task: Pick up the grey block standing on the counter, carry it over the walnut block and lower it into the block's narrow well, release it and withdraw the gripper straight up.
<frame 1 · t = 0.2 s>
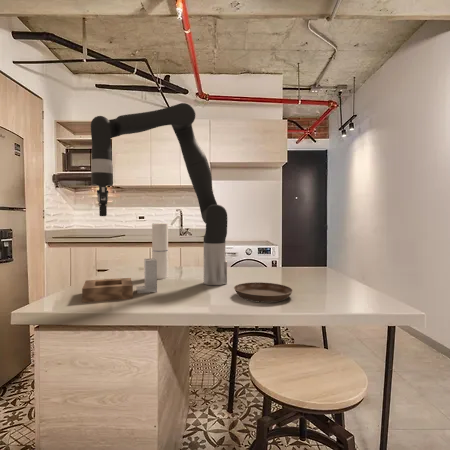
hand: (103, 216, 118), 28 cm above the countertop, tool pointing down, fingers open, 8 cm apart
cylindrical container: (160, 278, 146), on the countertop
grey block: (150, 290, 120), on the countertop
well block: (108, 295, 113), on the countertop
plant saucer: (263, 297, 113), on the countertop
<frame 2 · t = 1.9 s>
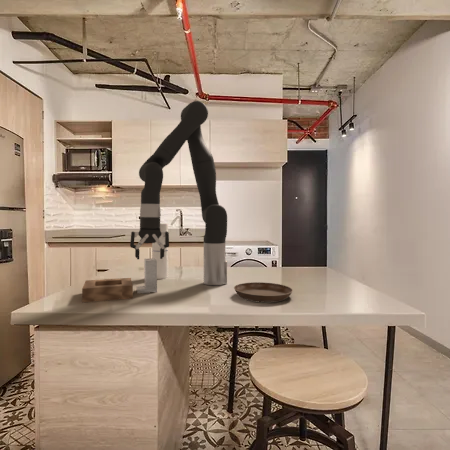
hand: (149, 258, 120), 12 cm above the countertop, tool pointing down, fingers open, 8 cm apart
nothing on the countertop moved.
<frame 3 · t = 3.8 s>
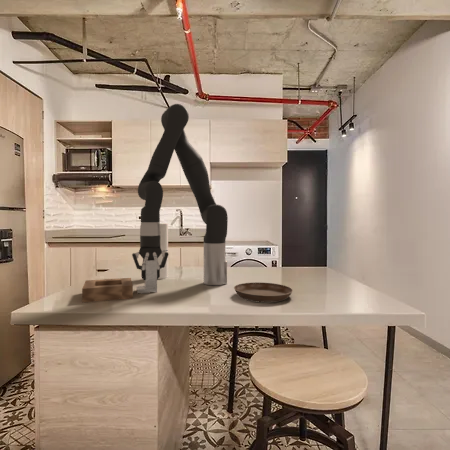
hand: (150, 279, 120), 4 cm above the countertop, tool pointing down, fingers closed on grey block, 4 cm apart
grey block: (150, 290, 120), on the countertop, touching gripper
everything else where it was.
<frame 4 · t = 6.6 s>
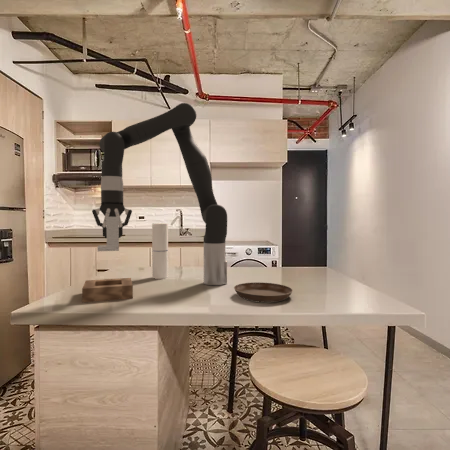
hand: (112, 237, 113), 21 cm above the countertop, tool pointing down, fingers closed on grey block, 4 cm apart
grey block: (112, 250, 113), point 16 cm above the countertop, touching gripper
everything else where it was.
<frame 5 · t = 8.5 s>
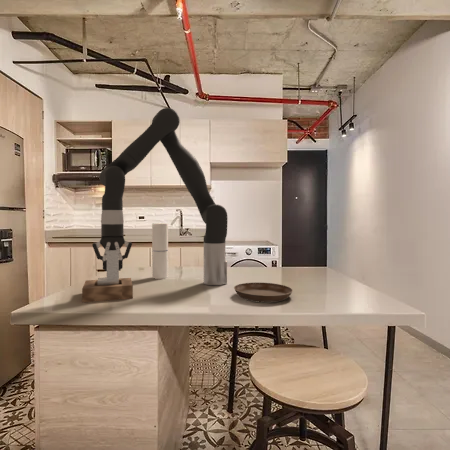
hand: (112, 270, 114), 9 cm above the countertop, tool pointing down, fingers closed on grey block, 4 cm apart
grey block: (112, 282, 114), point 4 cm above the countertop, touching gripper
everything else where it was.
when the fingers open (6 cm above the countertop, at t = 9.9 s): grey block drops 1 cm, resting on well block.
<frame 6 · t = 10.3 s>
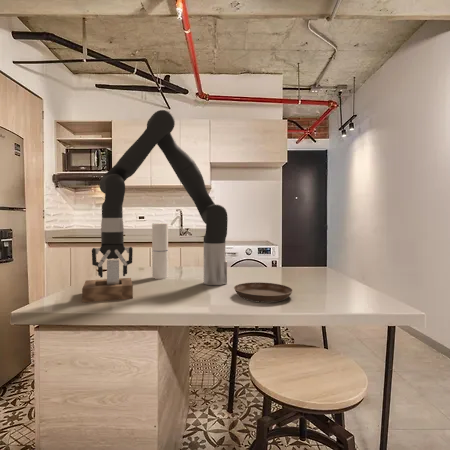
hand: (112, 276, 114), 7 cm above the countertop, tool pointing down, fingers open, 7 cm apart
grey block: (113, 293, 114), resting on well block
everything else where it was.
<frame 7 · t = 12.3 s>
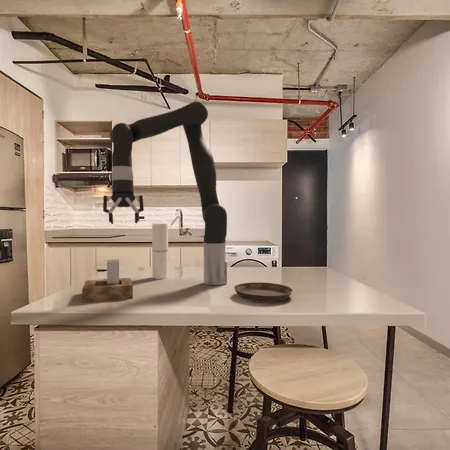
hand: (124, 223, 117), 26 cm above the countertop, tool pointing down, fingers open, 8 cm apart
nothing on the countertop moved.
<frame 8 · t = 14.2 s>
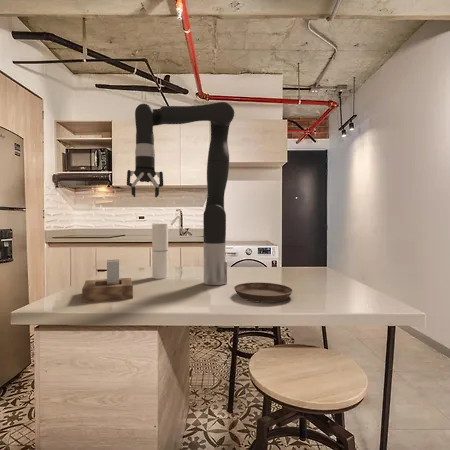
hand: (145, 197, 127), 36 cm above the countertop, tool pointing down, fingers open, 8 cm apart
nothing on the countertop moved.
at the end: grey block 0.4 cm from the target spot on the well block, point 0.4 cm above the well block's base; grey block tilted 0°; the gripper is holding nothing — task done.
